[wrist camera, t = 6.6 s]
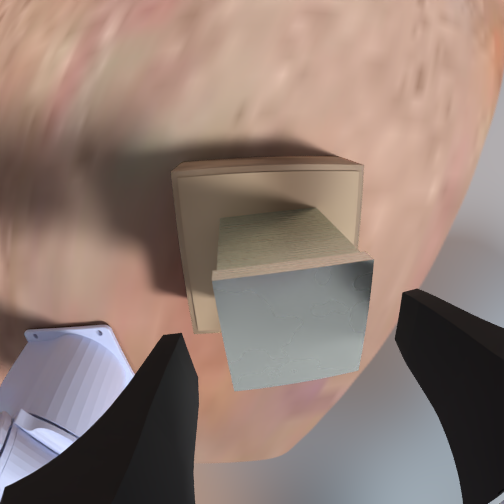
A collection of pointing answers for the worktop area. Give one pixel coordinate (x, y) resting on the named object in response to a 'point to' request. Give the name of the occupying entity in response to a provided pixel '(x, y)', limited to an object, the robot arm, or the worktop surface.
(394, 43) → the worktop surface
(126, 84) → the worktop surface
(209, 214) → the tan flat square box
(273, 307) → the tea tin
